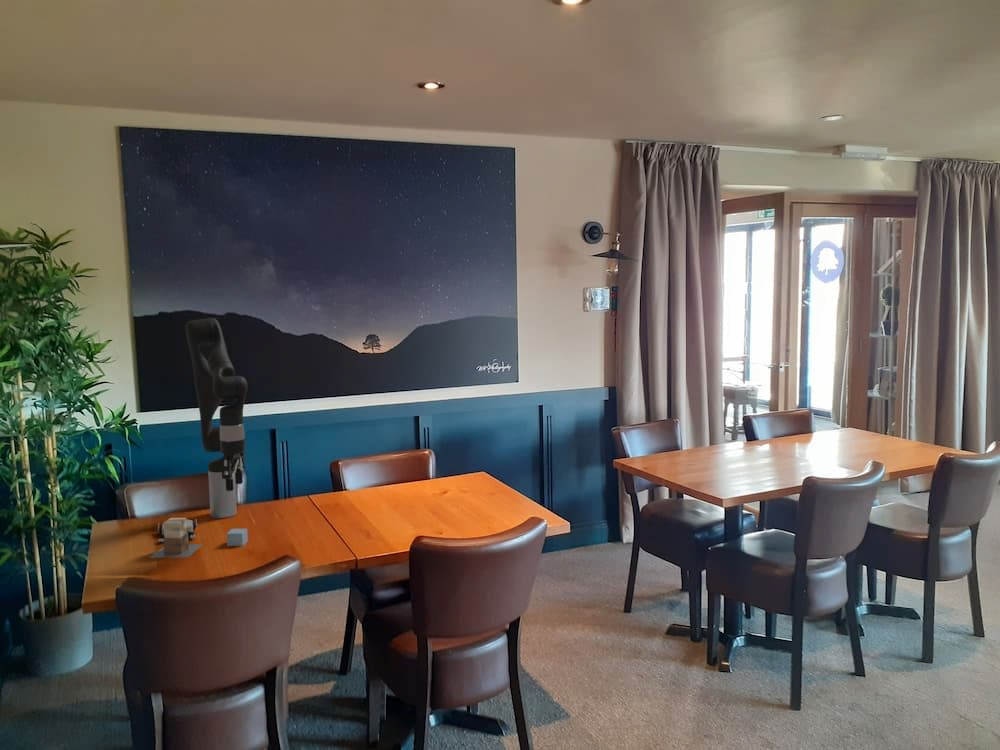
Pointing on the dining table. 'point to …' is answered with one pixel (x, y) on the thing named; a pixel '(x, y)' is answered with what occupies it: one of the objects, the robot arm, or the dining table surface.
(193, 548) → the slate pad
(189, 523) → the robot toy
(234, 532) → the blue block
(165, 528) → the beech block
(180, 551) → the walnut block
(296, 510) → the dining table surface
